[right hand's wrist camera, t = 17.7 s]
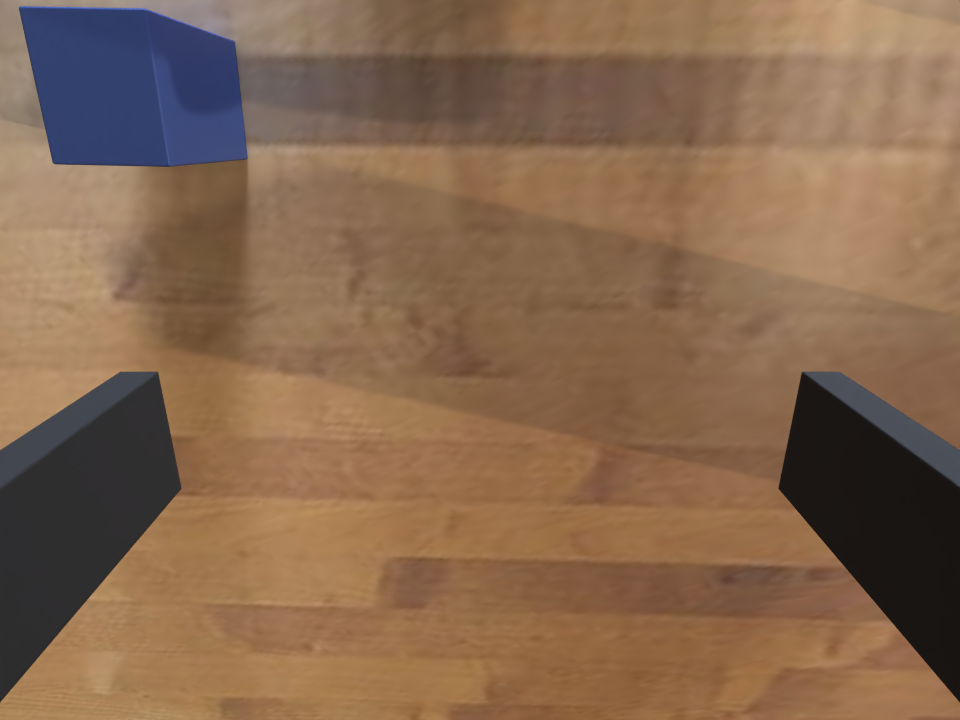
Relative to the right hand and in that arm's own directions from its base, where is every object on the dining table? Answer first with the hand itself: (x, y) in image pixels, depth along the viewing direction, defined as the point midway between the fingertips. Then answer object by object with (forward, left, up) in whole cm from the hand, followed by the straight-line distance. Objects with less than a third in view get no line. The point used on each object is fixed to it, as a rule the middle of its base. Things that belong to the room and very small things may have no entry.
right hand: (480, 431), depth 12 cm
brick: (-2, -19, -27) cm, 33 cm away
